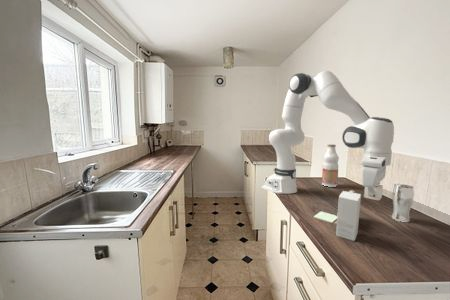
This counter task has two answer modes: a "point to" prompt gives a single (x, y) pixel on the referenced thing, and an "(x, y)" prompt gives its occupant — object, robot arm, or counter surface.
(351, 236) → the skincare box
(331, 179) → the fruit juice
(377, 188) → the lettered cube
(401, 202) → the beer glass
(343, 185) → the counter surface
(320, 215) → the pad
